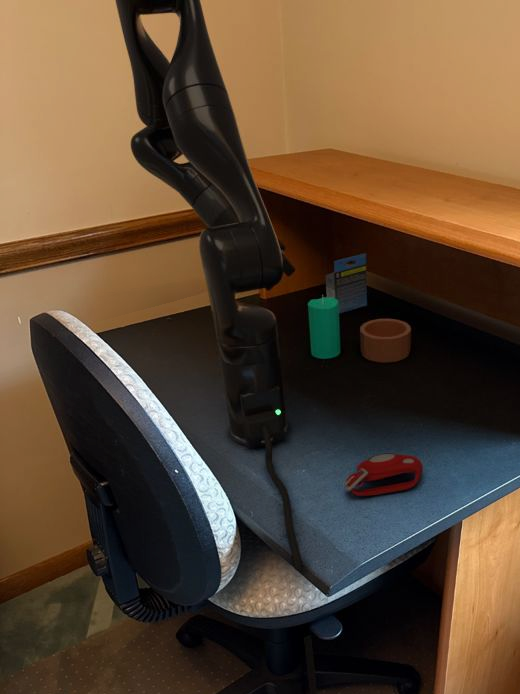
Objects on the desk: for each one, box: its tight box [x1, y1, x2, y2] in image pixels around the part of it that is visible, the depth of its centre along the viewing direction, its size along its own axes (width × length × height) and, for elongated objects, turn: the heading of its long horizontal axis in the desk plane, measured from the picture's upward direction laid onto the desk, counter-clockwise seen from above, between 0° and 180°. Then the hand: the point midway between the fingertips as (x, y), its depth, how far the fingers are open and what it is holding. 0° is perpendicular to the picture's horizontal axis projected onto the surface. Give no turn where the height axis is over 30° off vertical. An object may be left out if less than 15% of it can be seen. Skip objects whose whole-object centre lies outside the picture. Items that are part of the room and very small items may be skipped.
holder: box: [359, 318, 412, 363], centre depth 133 cm, size 10×10×5 cm
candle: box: [307, 294, 341, 360], centre depth 132 cm, size 6×6×12 cm
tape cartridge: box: [325, 252, 368, 315], centre depth 151 cm, size 9×4×12 cm, turn 126°
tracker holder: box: [343, 452, 424, 497], centre depth 97 cm, size 12×4×10 cm
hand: (282, 280), depth 130 cm, fingers open, 8 cm apart
